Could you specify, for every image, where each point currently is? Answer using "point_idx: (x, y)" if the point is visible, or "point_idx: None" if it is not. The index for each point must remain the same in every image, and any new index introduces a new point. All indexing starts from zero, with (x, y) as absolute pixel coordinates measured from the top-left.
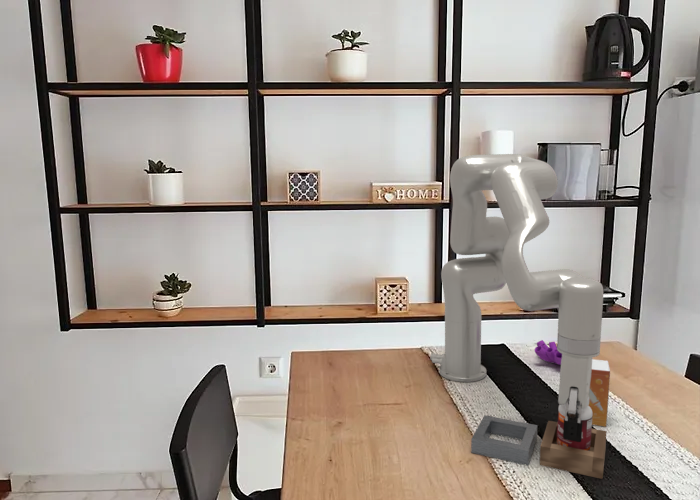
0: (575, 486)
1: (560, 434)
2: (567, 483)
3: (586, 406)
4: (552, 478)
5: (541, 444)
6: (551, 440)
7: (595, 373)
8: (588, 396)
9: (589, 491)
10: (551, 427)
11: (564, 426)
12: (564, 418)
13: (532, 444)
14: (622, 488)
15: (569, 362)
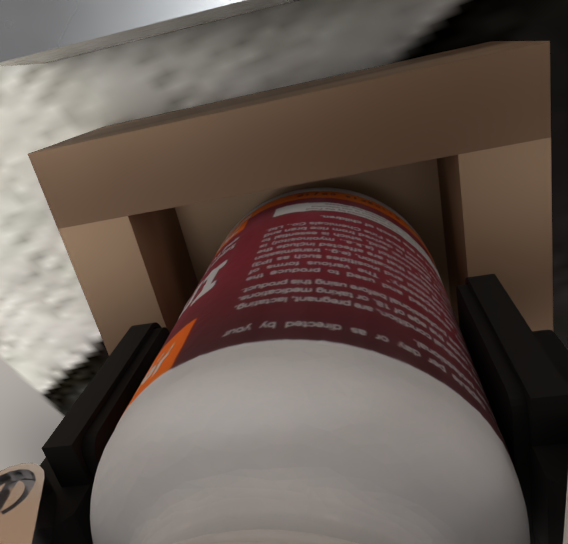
0: (57, 341)
1: (201, 280)
2: (51, 306)
3: None
4: (34, 233)
5: (53, 153)
6: (172, 199)
7: None
8: None
9: (67, 395)
10: (404, 123)
11: (87, 397)
12: (71, 446)
13: (195, 18)
14: None
15: None
